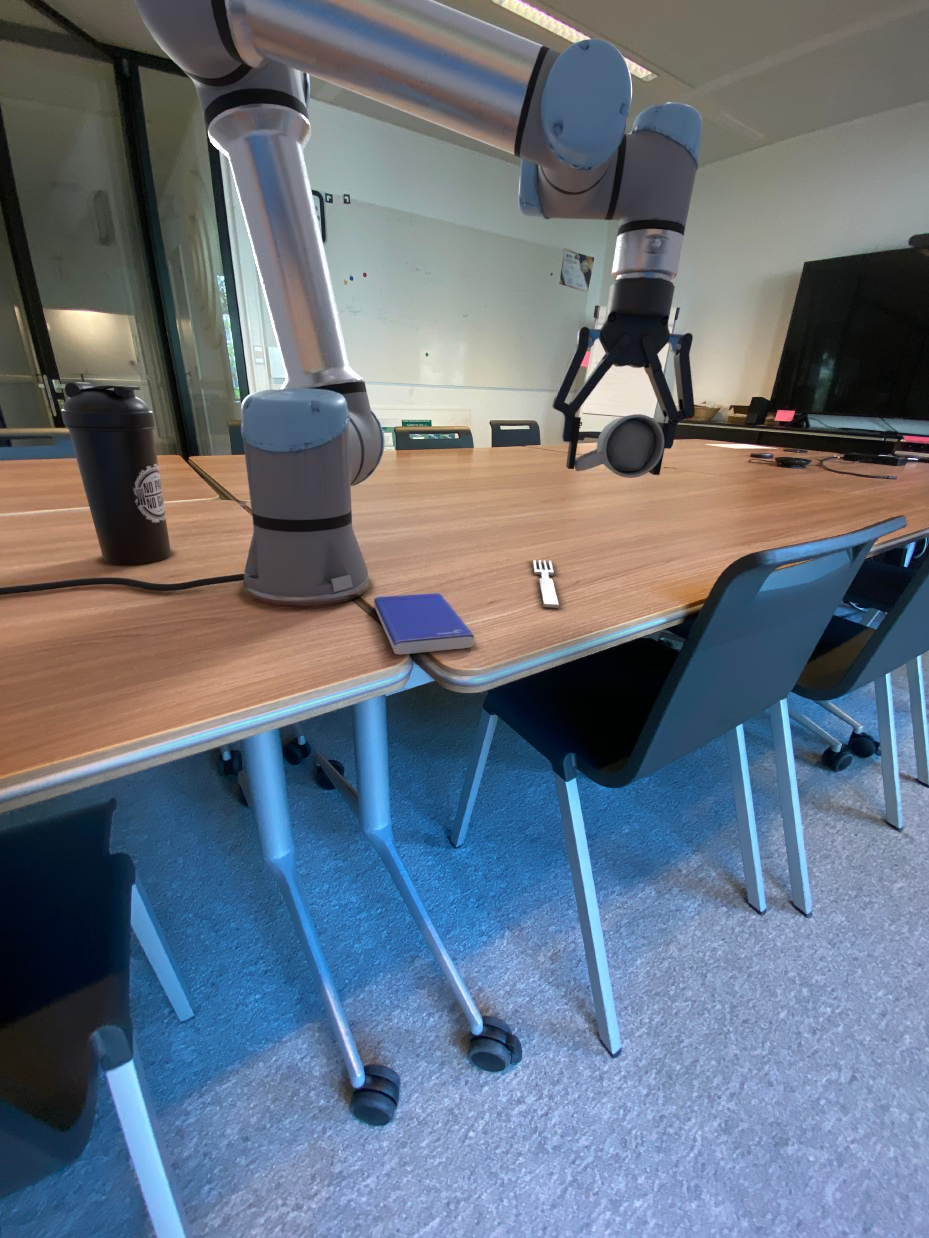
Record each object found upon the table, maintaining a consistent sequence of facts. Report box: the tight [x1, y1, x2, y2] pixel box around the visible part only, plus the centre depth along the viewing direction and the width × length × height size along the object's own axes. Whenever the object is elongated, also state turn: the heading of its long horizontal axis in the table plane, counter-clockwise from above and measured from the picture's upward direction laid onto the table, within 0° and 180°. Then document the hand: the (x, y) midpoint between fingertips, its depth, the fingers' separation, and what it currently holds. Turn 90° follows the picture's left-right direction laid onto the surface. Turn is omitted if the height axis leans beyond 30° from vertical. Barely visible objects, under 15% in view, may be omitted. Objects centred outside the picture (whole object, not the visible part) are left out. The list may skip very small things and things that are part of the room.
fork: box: [532, 559, 560, 609], centre depth 74 cm, size 3×19×1 cm, turn 176°
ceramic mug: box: [574, 413, 665, 479], centre depth 71 cm, size 11×8×8 cm
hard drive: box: [373, 592, 475, 655], centre depth 58 cm, size 2×8×12 cm
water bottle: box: [60, 381, 172, 566], centre depth 73 cm, size 10×10×23 cm
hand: (611, 470), depth 72 cm, fingers closed on ceramic mug, 11 cm apart
